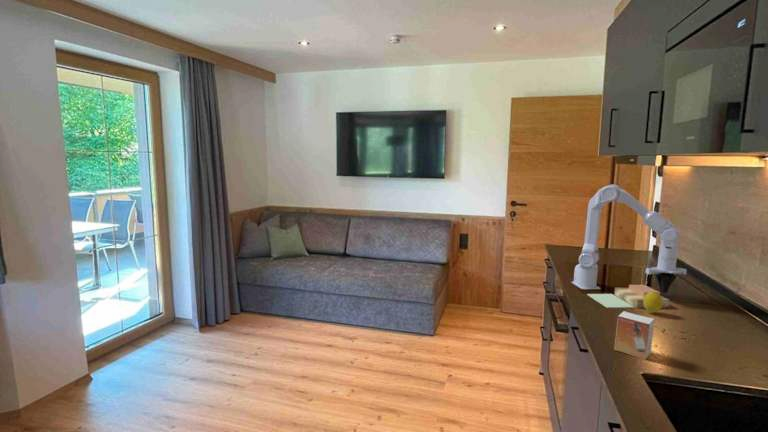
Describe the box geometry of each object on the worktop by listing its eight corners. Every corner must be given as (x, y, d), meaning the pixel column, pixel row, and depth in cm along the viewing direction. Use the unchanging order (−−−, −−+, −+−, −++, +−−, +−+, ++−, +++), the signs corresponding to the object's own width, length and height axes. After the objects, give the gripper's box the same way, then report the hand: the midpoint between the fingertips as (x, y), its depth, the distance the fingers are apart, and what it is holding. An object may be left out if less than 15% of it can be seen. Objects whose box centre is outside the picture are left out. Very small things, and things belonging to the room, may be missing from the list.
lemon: (657, 317, 141) (660, 295, 140) (639, 312, 145) (642, 291, 144) (663, 313, 144) (665, 292, 143) (645, 309, 148) (647, 288, 147)
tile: (628, 289, 161) (629, 284, 160) (643, 289, 161) (644, 284, 160) (643, 297, 152) (644, 292, 151) (659, 297, 152) (660, 292, 152)
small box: (613, 350, 117) (617, 315, 115) (619, 344, 121) (623, 310, 119) (645, 360, 111) (649, 324, 110) (651, 353, 115) (655, 318, 114)
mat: (587, 294, 163) (587, 293, 163) (611, 294, 163) (611, 293, 163) (607, 308, 149) (607, 307, 149) (634, 307, 149) (634, 306, 149)
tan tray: (614, 294, 163) (615, 287, 163) (643, 294, 164) (644, 287, 163) (636, 307, 150) (637, 300, 149) (668, 307, 150) (669, 300, 149)
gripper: (656, 260, 150) (652, 295, 152) (694, 260, 151) (689, 295, 153) (643, 255, 157) (639, 289, 159) (680, 255, 158) (676, 289, 160)
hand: (663, 291), depth 156 cm, fingers closed
